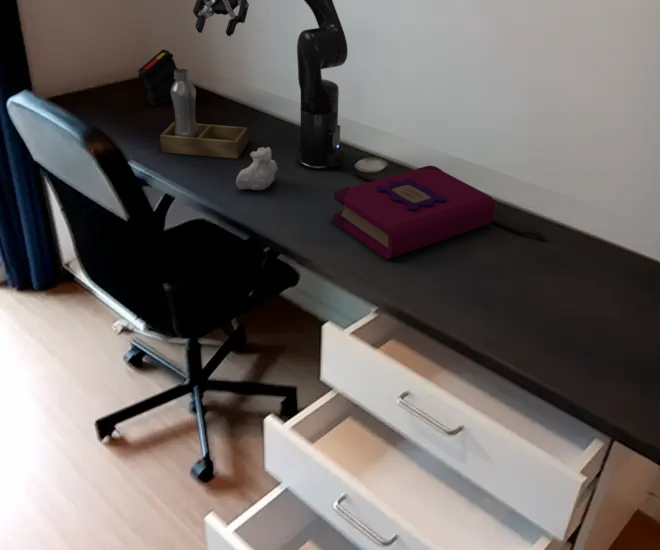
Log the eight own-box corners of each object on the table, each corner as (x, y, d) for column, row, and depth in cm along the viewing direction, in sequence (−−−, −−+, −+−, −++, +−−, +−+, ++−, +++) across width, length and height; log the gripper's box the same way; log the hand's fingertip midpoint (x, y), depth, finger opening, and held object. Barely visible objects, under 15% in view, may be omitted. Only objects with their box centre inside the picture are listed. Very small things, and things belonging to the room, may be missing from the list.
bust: (241, 203, 167) (260, 177, 158) (223, 177, 168) (241, 150, 159) (278, 188, 175) (298, 162, 166) (260, 163, 176) (279, 136, 167)
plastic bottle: (170, 149, 188) (163, 73, 178) (182, 140, 194) (175, 66, 183) (193, 152, 187) (186, 76, 176) (204, 143, 192) (198, 68, 182)
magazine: (191, 90, 224) (170, 50, 213) (162, 117, 219) (139, 78, 208) (184, 88, 226) (163, 48, 215) (154, 114, 222) (131, 75, 210)
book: (492, 227, 155) (497, 196, 151) (390, 263, 142) (392, 229, 138) (428, 191, 170) (431, 162, 166) (330, 220, 156) (331, 189, 152)
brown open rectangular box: (248, 143, 193) (247, 127, 190) (237, 158, 184) (237, 142, 181) (175, 137, 195) (173, 121, 193) (161, 152, 186) (159, 135, 184)
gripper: (201, -33, 189) (183, 21, 186) (250, -28, 186) (233, 27, 183) (211, -15, 197) (194, 38, 193) (259, -10, 193) (242, 43, 190)
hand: (213, 32), depth 188 cm, fingers open, 8 cm apart
